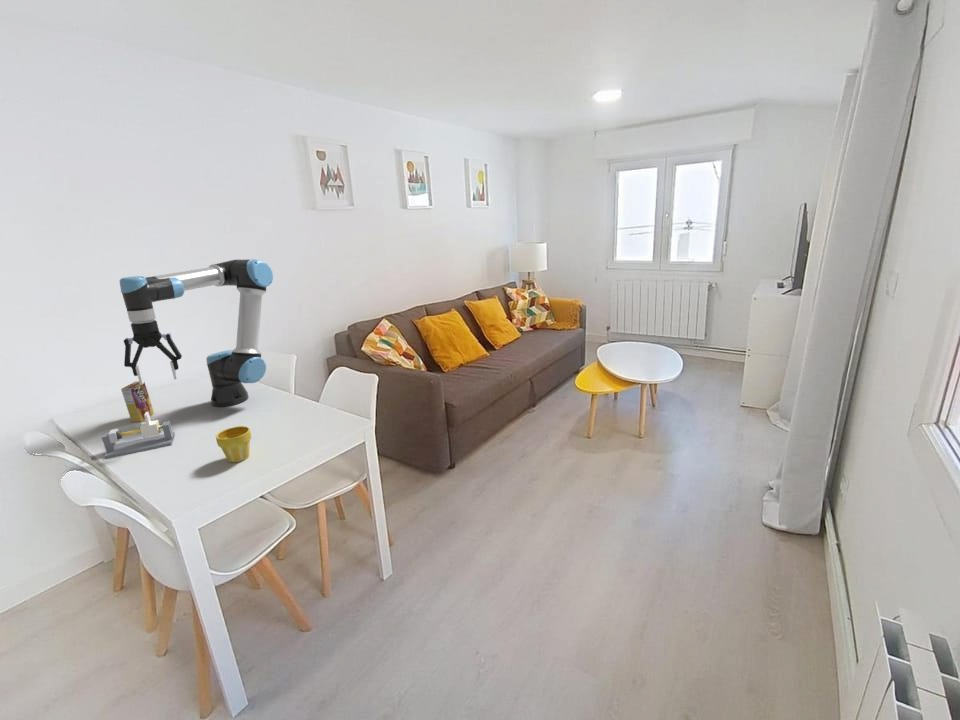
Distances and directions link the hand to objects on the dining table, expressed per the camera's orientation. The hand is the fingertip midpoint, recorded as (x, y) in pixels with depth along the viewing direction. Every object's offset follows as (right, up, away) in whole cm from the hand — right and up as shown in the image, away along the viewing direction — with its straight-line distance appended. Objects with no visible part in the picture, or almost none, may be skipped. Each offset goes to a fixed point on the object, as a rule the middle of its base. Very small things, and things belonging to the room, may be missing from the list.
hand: (159, 380), depth 167 cm
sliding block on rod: (-8, -24, +3) cm, 26 cm away
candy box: (-27, -17, +29) cm, 43 cm away
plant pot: (+34, -26, -9) cm, 44 cm away
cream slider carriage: (-5, -20, +3) cm, 21 cm away
